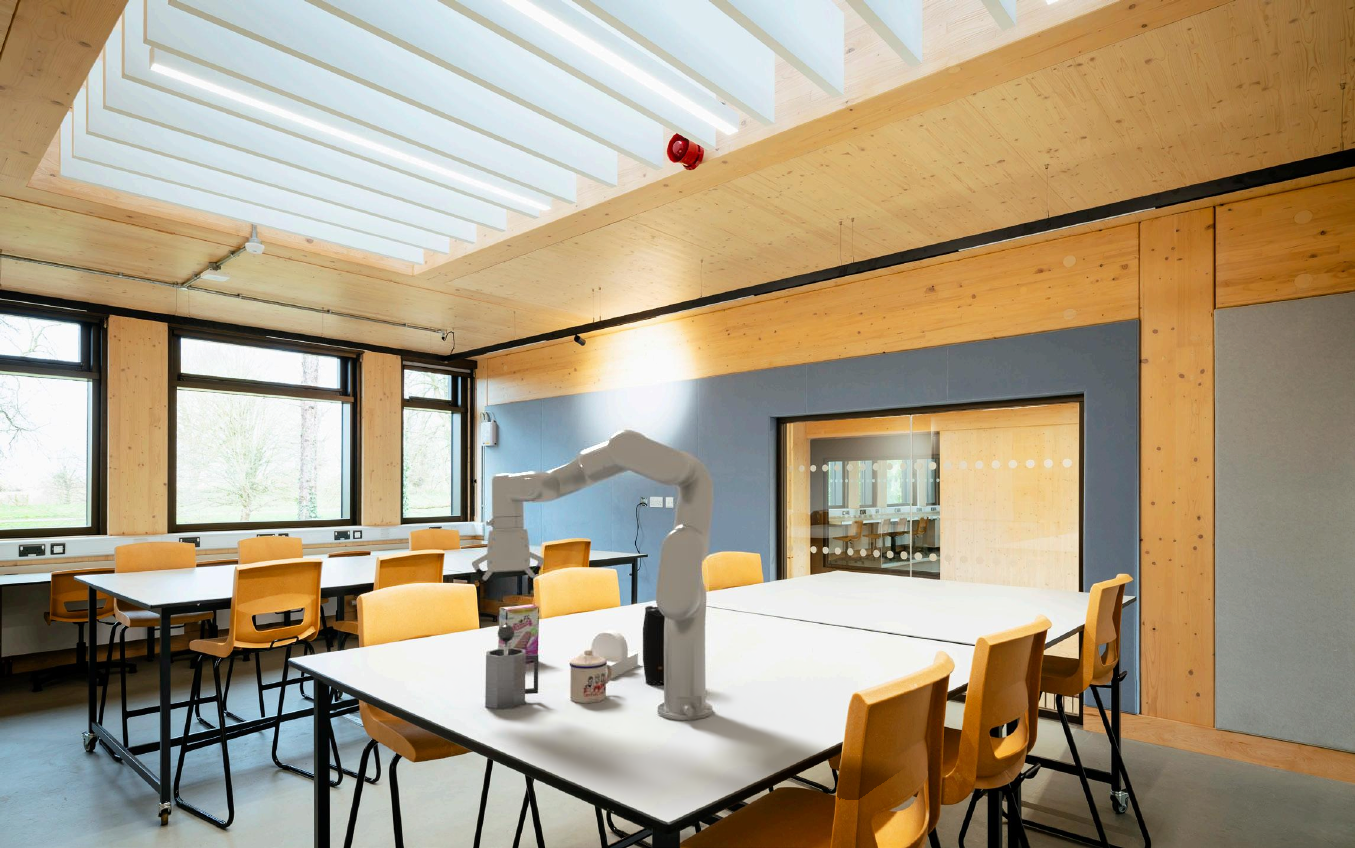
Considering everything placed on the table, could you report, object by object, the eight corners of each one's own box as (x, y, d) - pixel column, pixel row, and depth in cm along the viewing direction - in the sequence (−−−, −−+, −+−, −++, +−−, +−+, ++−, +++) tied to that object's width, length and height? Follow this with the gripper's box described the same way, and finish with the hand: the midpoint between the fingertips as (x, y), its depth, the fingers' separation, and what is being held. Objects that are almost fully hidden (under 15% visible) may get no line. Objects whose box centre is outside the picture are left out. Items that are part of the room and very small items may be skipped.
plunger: (518, 696, 176) (519, 626, 178) (492, 698, 175) (493, 627, 176) (517, 690, 182) (518, 622, 184) (492, 691, 181) (493, 623, 182)
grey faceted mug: (538, 706, 176) (539, 654, 177) (484, 710, 173) (485, 657, 174) (536, 696, 185) (537, 646, 186) (485, 699, 182) (486, 649, 183)
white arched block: (609, 680, 201) (609, 638, 202) (578, 677, 205) (578, 636, 206) (638, 665, 217) (638, 627, 218) (608, 663, 221) (609, 625, 222)
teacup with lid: (585, 706, 176) (585, 655, 177) (561, 699, 182) (562, 650, 183) (623, 696, 184) (623, 647, 185) (599, 689, 191) (599, 642, 192)
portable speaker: (670, 687, 192) (669, 610, 193) (637, 684, 195) (636, 608, 197) (682, 679, 200) (681, 605, 201) (650, 676, 203) (649, 604, 205)
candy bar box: (505, 667, 215) (506, 609, 217) (497, 664, 219) (498, 607, 221) (539, 661, 223) (539, 605, 224) (531, 658, 226) (531, 603, 228)
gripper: (470, 526, 177) (471, 599, 175) (544, 523, 181) (545, 594, 179) (472, 525, 184) (472, 595, 182) (543, 522, 188) (544, 591, 186)
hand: (508, 595), depth 181 cm, fingers open, 9 cm apart
